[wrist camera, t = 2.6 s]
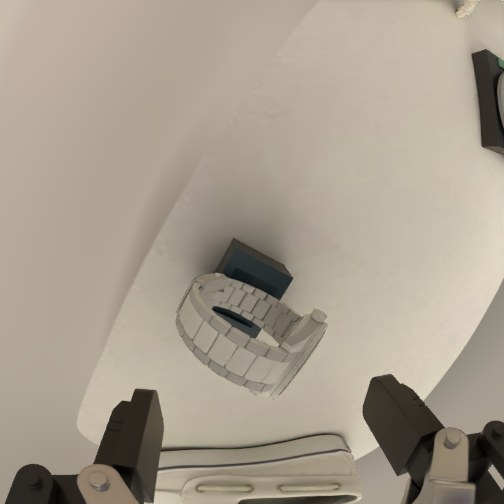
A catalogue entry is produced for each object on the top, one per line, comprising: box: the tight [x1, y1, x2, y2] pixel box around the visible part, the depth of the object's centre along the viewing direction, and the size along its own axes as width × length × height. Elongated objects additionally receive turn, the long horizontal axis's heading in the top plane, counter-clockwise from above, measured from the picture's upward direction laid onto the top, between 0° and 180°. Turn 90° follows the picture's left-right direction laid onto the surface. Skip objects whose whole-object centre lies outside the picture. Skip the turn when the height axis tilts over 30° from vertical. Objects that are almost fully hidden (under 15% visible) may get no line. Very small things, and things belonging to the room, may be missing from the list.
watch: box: [176, 239, 328, 399], centre depth 17 cm, size 6×8×11 cm
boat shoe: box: [144, 435, 363, 504], centre depth 23 cm, size 29×11×10 cm, turn 95°
